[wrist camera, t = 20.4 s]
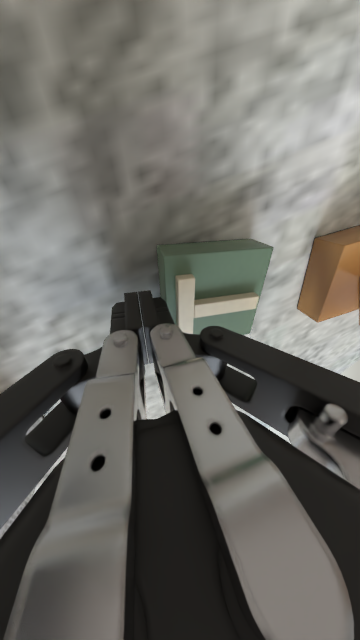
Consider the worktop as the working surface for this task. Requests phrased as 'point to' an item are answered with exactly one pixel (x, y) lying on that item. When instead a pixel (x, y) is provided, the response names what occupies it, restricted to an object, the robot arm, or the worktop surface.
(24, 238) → the worktop surface
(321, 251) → the letter pile
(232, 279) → the letter T
